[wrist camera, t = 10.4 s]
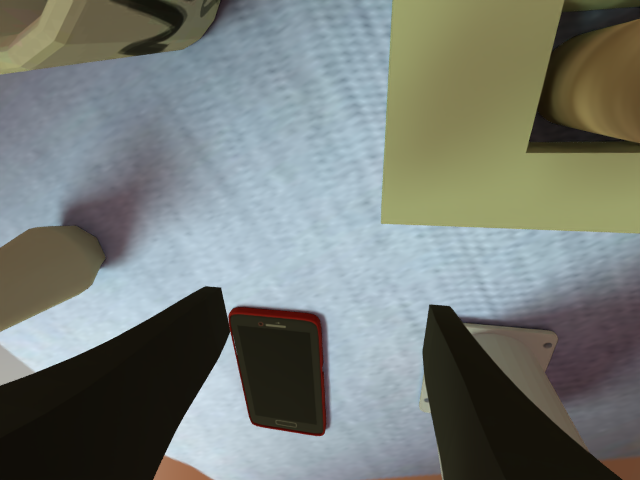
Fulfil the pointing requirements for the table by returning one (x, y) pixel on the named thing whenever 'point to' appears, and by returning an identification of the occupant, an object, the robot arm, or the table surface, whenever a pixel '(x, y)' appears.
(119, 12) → the mug
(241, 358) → the cell phone
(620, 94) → the tall peg
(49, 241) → the salt shaker
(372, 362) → the table surface
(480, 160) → the hole board
